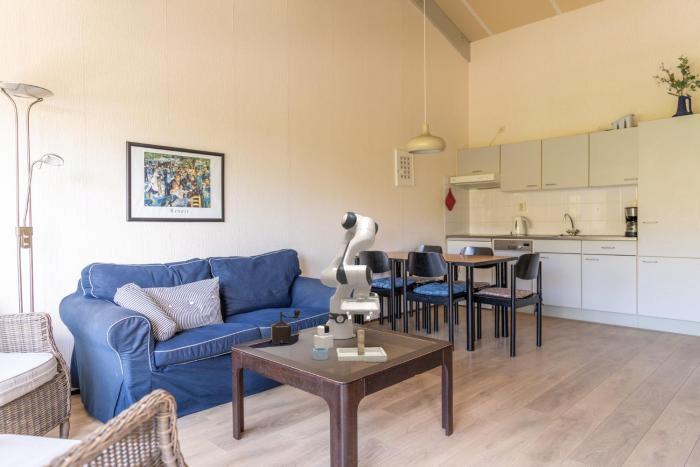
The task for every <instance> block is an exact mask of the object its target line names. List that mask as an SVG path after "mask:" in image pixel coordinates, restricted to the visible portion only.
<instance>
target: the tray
mask: <svg viewBox="0 0 700 467" xmlns="http://www.w3.org/2000/svg"><path fill="white" fill-rule="evenodd" d="M364 352H365V355H363V356H358V347H337V348H336V356H337V359H338V360H337V361H338V362H353V361H354V362H355V361H356V362H359V361H360V362H362V361H365V363H369V364H370V363H388V355H387V353H386V351H385V350H384V349H383V348H382V347H381V346H379V347H376V346H375V347H364Z"/></svg>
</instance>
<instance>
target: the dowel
mask: <svg viewBox="0 0 700 467" xmlns="http://www.w3.org/2000/svg"><path fill="white" fill-rule="evenodd" d="M357 348H358V356H363V355H365V352H364V348H365V330H364V329H357Z"/></svg>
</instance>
